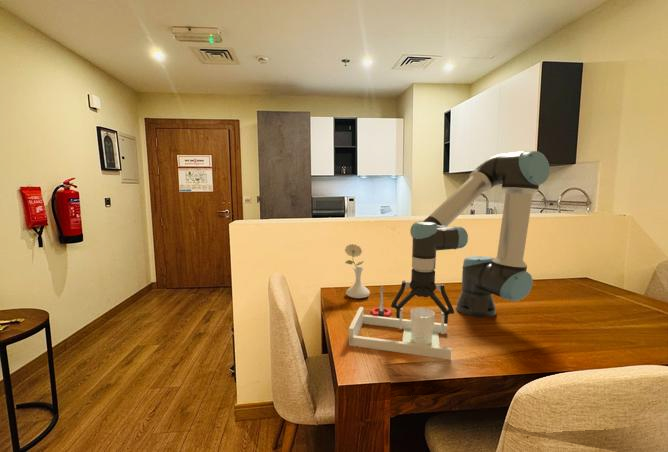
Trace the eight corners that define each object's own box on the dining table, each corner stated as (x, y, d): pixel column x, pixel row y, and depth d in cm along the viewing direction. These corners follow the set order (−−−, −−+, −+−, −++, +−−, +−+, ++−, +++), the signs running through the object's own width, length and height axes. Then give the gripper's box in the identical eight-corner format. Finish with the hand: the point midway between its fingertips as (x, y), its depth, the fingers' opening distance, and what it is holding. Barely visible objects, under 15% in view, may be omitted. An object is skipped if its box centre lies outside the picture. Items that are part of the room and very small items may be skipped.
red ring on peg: (371, 309, 138) (370, 317, 128) (372, 279, 136) (371, 285, 127) (391, 310, 136) (391, 318, 127) (392, 280, 135) (392, 286, 126)
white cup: (406, 335, 112) (407, 308, 111) (428, 334, 113) (429, 307, 112) (414, 346, 105) (415, 317, 103) (437, 345, 105) (438, 316, 104)
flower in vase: (374, 294, 154) (374, 243, 150) (363, 302, 144) (363, 248, 141) (350, 290, 160) (350, 241, 157) (338, 296, 151) (338, 245, 148)
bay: (446, 331, 116) (447, 316, 115) (450, 359, 97) (451, 341, 97) (359, 321, 124) (359, 306, 123) (348, 345, 106) (348, 328, 105)
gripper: (462, 268, 106) (459, 329, 109) (386, 263, 112) (385, 320, 115) (465, 275, 99) (461, 339, 101) (384, 269, 105) (382, 330, 108)
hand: (421, 329), depth 108 cm, fingers open, 13 cm apart
